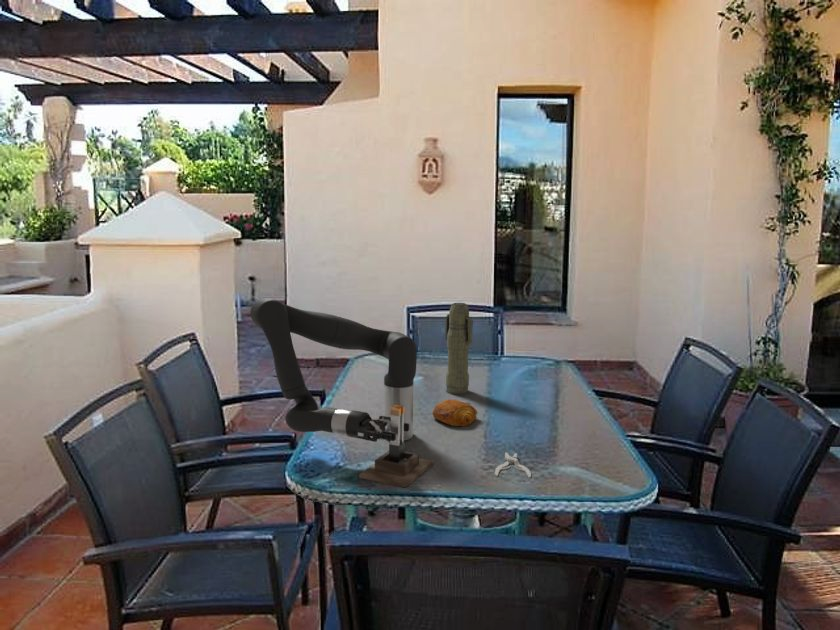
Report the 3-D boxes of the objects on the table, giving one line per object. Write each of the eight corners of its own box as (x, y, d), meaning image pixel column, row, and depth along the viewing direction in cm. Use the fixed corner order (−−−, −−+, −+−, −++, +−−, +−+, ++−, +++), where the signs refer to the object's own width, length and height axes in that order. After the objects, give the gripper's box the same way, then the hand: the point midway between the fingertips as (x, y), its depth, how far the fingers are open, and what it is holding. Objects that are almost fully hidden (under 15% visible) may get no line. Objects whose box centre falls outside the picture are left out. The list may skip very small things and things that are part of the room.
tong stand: (389, 455, 203) (389, 442, 202) (433, 464, 197) (433, 450, 197) (359, 477, 187) (359, 463, 186) (405, 487, 181) (406, 473, 180)
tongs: (394, 463, 195) (395, 403, 192) (407, 465, 193) (407, 405, 190) (386, 469, 190) (386, 408, 187) (398, 471, 189) (399, 410, 186)
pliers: (495, 471, 189) (494, 451, 204) (495, 477, 190) (493, 457, 204) (531, 473, 188) (527, 453, 203) (531, 479, 189) (527, 458, 204)
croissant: (450, 436, 227) (452, 414, 225) (425, 416, 240) (426, 395, 237) (485, 428, 235) (487, 406, 232) (459, 409, 247) (461, 389, 245)
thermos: (465, 396, 265) (467, 306, 259) (438, 391, 271) (440, 303, 265) (475, 391, 272) (478, 303, 266) (449, 386, 278) (452, 300, 272)
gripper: (338, 417, 189) (390, 426, 182) (363, 404, 202) (413, 411, 195) (338, 443, 190) (390, 453, 184) (363, 428, 203) (413, 437, 196)
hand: (402, 432), depth 189 cm, fingers open, 8 cm apart
